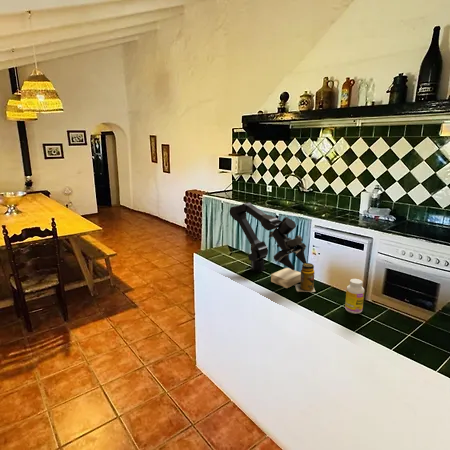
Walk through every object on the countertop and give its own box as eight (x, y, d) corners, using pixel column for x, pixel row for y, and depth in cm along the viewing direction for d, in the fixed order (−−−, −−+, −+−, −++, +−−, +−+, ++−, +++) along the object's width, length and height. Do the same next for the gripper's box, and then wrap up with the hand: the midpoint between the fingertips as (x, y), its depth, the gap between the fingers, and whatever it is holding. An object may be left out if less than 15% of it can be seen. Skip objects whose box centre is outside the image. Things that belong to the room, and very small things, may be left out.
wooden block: (271, 281, 158) (271, 274, 157) (286, 274, 165) (286, 267, 164) (287, 288, 150) (287, 280, 149) (302, 280, 158) (302, 273, 157)
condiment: (315, 292, 146) (316, 267, 143) (296, 291, 147) (297, 267, 144) (312, 285, 153) (313, 261, 150) (294, 284, 154) (295, 261, 151)
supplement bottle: (355, 316, 126) (358, 286, 122) (341, 308, 131) (343, 280, 128) (365, 311, 129) (368, 281, 126) (351, 304, 134) (354, 276, 131)
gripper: (278, 234, 144) (298, 264, 138) (303, 226, 155) (322, 253, 150) (265, 247, 151) (283, 275, 146) (290, 239, 163) (307, 264, 158)
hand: (300, 267), depth 150 cm, fingers open, 9 cm apart
